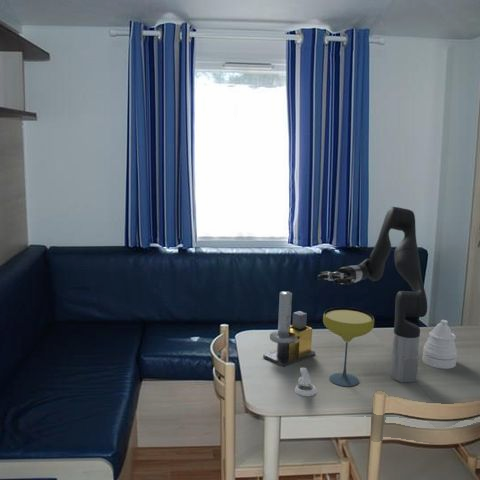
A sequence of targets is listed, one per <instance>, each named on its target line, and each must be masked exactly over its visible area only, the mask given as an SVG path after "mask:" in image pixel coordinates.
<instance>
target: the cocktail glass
mask: <svg viewBox="0 0 480 480" xmlns="http://www.w3.org/2000/svg"><path fill="white" fill-rule="evenodd" d="M322 316H323V317H322V322H323V325H324V327H326V329H327V330H328V331H330V332H331V333H333V334H334V335H337V336H339V337H341V339H342V340H343V341H344V342H345V351H344V352H345V353H344V363H343V372H337V373H333V374H331V375H330V376H329V378H328V379H329V381H330V382H331V383H332V384H333V385H336V386H340V387H346V388H347V387H349V388H350V387H355V386H357V385H358V384H359V383H360V379H359V378H358V377H357V376H355V375H353V374H350V373H347V358H348V357H347V356H348V346H349V344H348V343H350V342H351V341H352V340H353V339H355V338H359V337H361V336H364V335H368V333H370V332H371V331H372V330H373V329H374V327H375V318H374V316H373V314H371V313H369V312H368V311H366V310H363V309H359V308H353V307H333V308H329V309H327V310H325V311H324V313H323V315H322Z"/></svg>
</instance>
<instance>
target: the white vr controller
mask: <svg viewBox="0 0 480 480" xmlns="http://www.w3.org/2000/svg"><path fill="white" fill-rule="evenodd" d="M299 370H300V374H301V376H299V378H298V380H297V381H298V383H297V384H296V386H295V388H294V392H295V393H296V394H297V395H299V396H304V397H312V396H314V395H315V394H317V389H316V386H315V385H314V384H311V377H310V374H309V371H308V369H307V367H300V368H299ZM301 387H307V388H310V390H304V389H301Z"/></svg>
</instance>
